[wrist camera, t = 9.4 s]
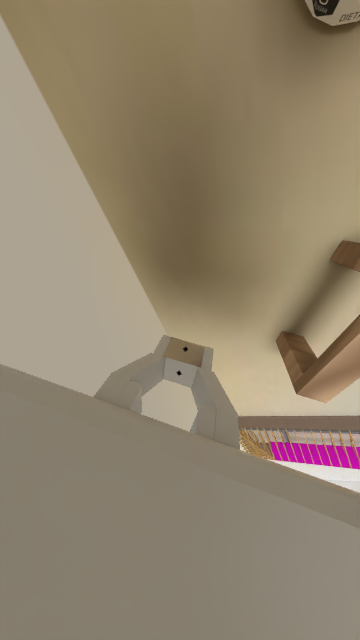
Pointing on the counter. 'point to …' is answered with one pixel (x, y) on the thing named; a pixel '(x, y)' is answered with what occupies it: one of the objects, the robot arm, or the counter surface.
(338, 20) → the supplement can
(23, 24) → the counter surface
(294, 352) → the bridge
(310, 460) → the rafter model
